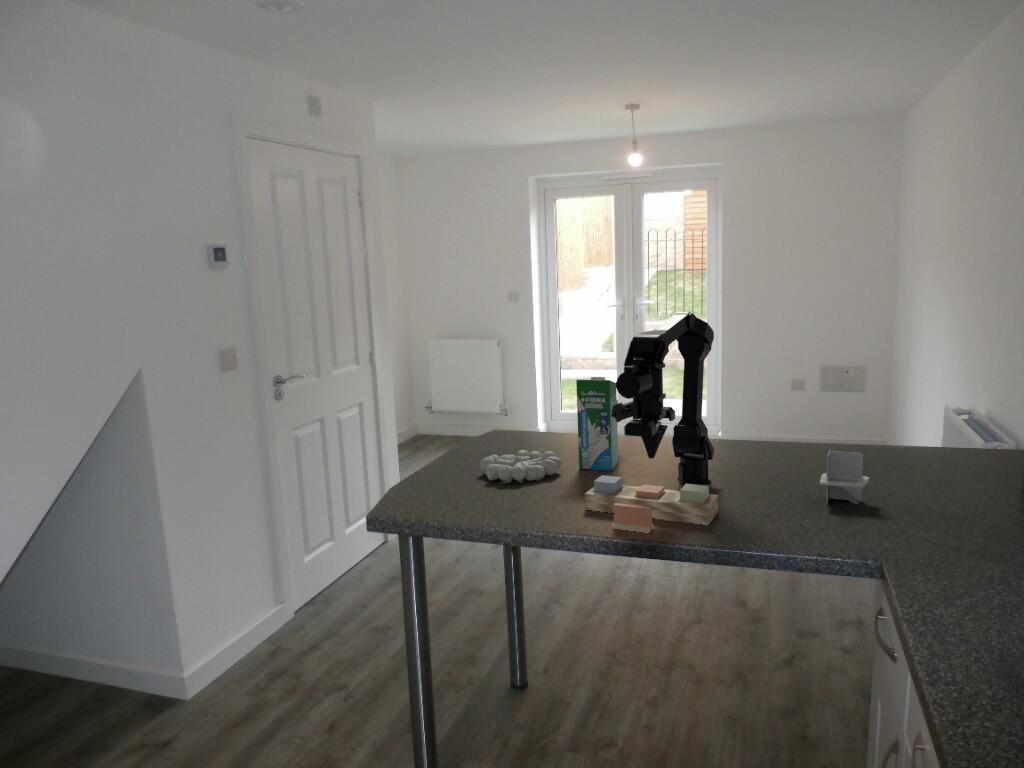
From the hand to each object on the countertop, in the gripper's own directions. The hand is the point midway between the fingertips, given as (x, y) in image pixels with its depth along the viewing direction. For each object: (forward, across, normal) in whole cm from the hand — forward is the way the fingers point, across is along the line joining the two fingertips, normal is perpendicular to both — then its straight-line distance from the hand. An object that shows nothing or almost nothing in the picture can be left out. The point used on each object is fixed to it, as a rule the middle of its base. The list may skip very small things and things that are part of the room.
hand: (651, 458), depth 171 cm
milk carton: (+12, -29, -24) cm, 40 cm away
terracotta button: (+9, +3, 0) cm, 10 cm away
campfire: (+12, -15, -41) cm, 46 cm away
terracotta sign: (+11, +15, 0) cm, 19 cm away
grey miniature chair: (+13, -18, +39) cm, 44 cm away
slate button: (+8, +3, -10) cm, 13 cm away
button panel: (+12, +3, 0) cm, 12 cm away
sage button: (+8, +3, +10) cm, 13 cm away
